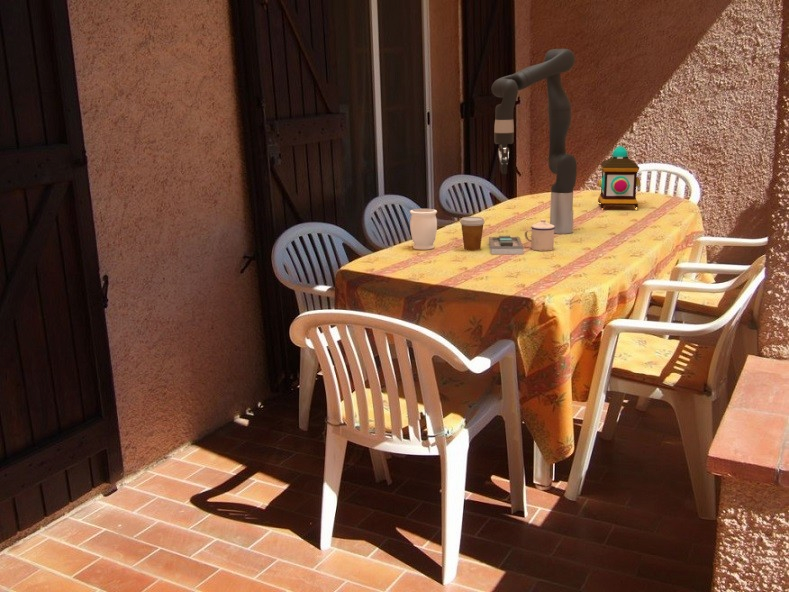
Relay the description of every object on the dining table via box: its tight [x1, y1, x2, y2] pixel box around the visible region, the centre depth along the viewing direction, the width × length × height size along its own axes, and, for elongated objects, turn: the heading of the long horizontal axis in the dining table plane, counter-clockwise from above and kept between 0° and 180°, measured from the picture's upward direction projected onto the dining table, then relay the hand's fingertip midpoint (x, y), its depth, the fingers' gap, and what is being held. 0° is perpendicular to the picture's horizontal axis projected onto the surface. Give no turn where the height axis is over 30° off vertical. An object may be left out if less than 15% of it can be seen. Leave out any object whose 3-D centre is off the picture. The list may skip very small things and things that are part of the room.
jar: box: [409, 208, 438, 251], centre depth 346 cm, size 11×10×15 cm
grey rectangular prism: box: [498, 235, 512, 241], centre depth 347 cm, size 4×3×2 cm
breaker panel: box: [488, 236, 524, 255], centre depth 343 cm, size 12×18×3 cm, turn 177°
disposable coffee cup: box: [459, 216, 485, 251], centre depth 343 cm, size 10×10×12 cm
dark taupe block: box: [501, 241, 513, 246], centre depth 338 cm, size 4×3×2 cm
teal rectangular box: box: [500, 238, 512, 244], centre depth 342 cm, size 4×3×2 cm
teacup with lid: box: [524, 218, 555, 252], centre depth 342 cm, size 12×9×12 cm
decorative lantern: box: [597, 146, 641, 209], centre depth 428 cm, size 20×20×30 cm
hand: (503, 172), depth 350 cm, fingers open, 8 cm apart
